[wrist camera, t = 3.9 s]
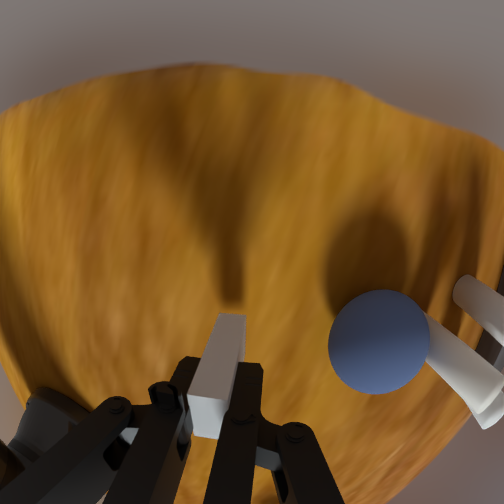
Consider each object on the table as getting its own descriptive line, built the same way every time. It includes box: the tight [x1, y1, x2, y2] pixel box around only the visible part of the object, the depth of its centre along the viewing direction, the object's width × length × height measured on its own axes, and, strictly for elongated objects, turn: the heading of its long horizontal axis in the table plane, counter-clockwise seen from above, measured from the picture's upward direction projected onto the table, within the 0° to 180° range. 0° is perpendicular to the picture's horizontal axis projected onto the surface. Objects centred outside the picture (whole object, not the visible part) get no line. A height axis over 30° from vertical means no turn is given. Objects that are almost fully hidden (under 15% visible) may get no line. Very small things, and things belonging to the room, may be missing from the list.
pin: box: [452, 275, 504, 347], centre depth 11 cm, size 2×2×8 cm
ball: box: [328, 290, 430, 394], centre depth 14 cm, size 6×6×6 cm
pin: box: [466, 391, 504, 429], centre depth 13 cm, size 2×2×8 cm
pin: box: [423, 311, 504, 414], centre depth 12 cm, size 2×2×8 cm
